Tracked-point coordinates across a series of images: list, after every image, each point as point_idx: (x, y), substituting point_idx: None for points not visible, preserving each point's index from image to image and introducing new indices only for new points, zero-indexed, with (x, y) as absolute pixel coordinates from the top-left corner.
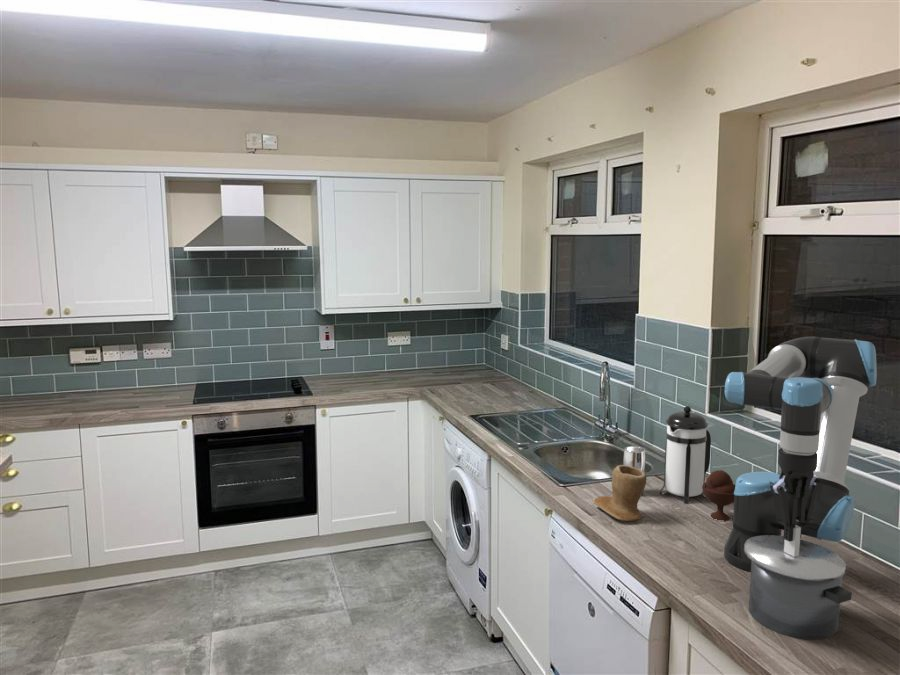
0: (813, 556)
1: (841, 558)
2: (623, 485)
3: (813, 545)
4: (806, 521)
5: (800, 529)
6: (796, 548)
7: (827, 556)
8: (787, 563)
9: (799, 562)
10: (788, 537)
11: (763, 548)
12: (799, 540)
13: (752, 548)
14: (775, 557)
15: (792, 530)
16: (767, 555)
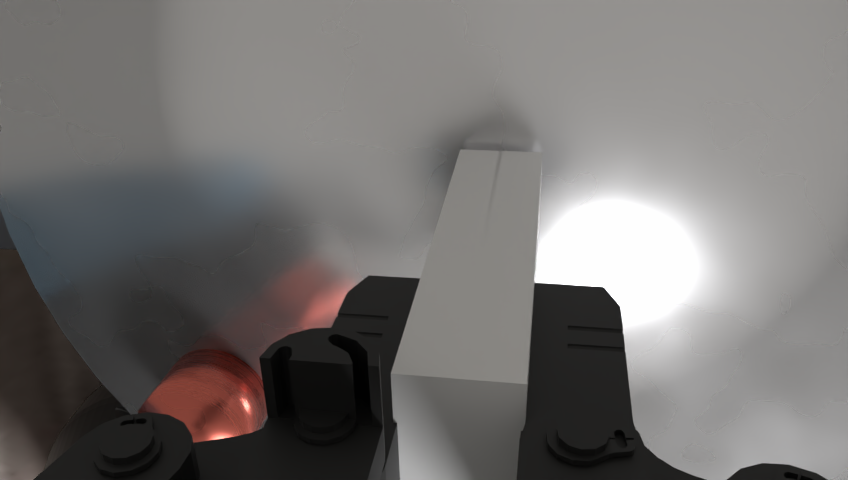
0: (275, 88)
1: None
2: None
3: (73, 266)
4: (188, 434)
5: (402, 348)
6: (502, 194)
7: (111, 29)
8: (790, 64)
9: (601, 27)
10: (618, 335)
11: (667, 420)
12: (441, 242)
13: (792, 465)
14: (765, 234)
15: (553, 392)
16: (809, 302)
